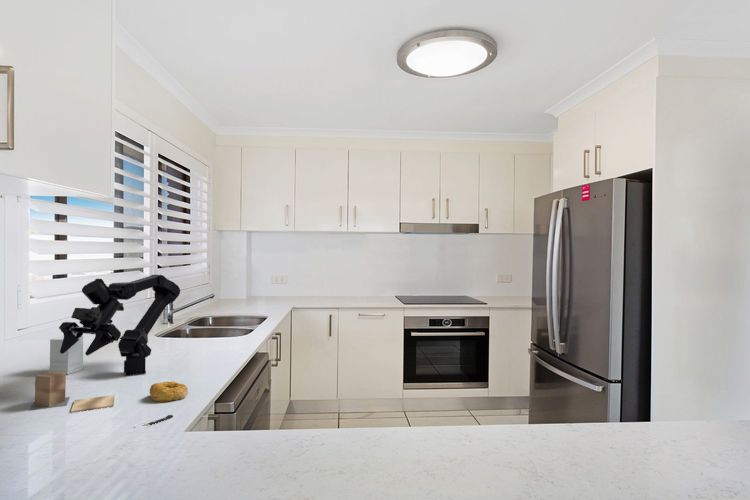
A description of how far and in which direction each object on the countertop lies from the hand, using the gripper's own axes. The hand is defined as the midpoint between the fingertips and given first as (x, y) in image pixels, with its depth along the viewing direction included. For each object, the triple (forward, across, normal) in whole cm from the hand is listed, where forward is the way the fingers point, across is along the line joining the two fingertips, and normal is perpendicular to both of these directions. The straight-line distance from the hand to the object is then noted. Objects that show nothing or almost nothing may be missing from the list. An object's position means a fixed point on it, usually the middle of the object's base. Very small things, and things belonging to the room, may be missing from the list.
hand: (73, 354), depth 131 cm
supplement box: (-6, -26, +25) cm, 36 cm away
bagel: (+5, +29, +13) cm, 32 cm away
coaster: (+13, +12, +6) cm, 19 cm away
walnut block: (+14, 0, +4) cm, 15 cm away
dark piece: (+22, +36, -2) cm, 42 cm away
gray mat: (+14, 0, +4) cm, 15 cm away
